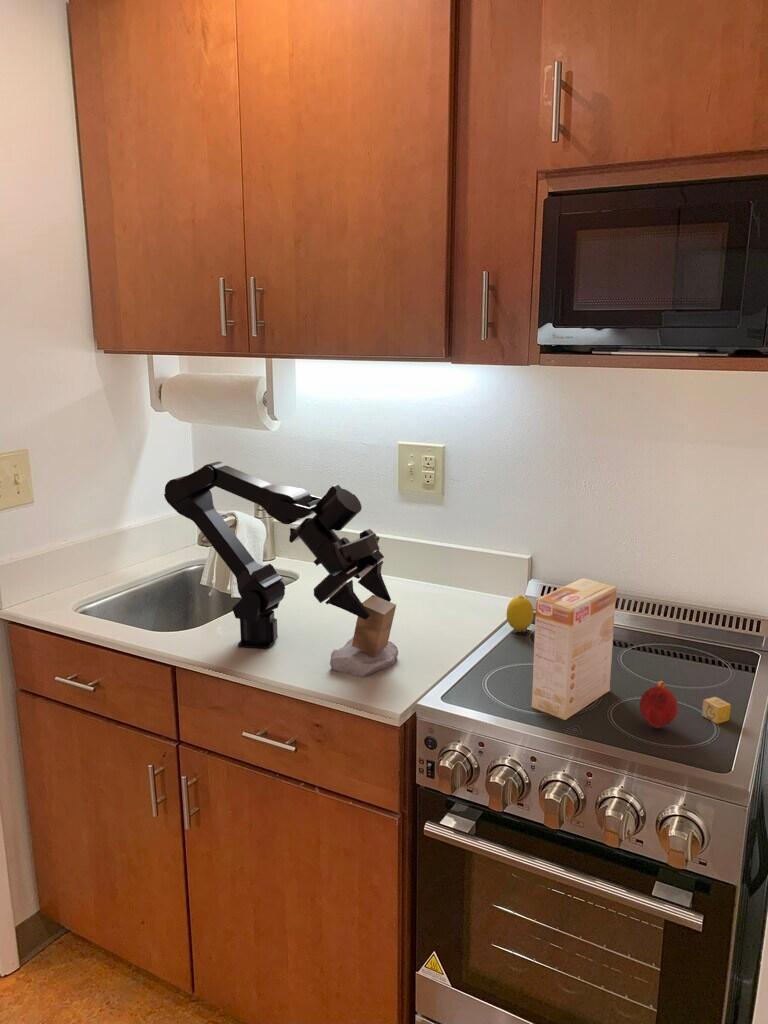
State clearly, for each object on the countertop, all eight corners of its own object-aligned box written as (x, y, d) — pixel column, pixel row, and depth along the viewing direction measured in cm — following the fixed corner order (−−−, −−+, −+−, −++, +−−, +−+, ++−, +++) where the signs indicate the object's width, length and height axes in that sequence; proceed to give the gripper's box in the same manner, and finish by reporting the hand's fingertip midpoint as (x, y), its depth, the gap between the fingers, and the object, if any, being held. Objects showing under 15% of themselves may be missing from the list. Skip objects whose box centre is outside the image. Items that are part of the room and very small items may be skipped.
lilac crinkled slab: (401, 666, 158) (358, 646, 162) (405, 645, 156) (361, 626, 160) (370, 693, 148) (324, 671, 152) (374, 670, 146) (328, 649, 150)
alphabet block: (714, 712, 136) (716, 695, 135) (729, 720, 133) (731, 703, 132) (701, 716, 134) (702, 699, 134) (716, 724, 132) (718, 707, 131)
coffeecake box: (575, 678, 148) (582, 576, 143) (611, 691, 143) (619, 586, 138) (529, 707, 137) (534, 598, 133) (565, 721, 133) (572, 608, 128)
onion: (675, 740, 127) (679, 692, 125) (636, 733, 129) (640, 686, 127) (676, 722, 132) (680, 677, 130) (639, 716, 134) (643, 671, 132)
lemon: (518, 639, 166) (520, 602, 164) (500, 630, 170) (501, 594, 168) (538, 633, 169) (540, 596, 167) (520, 624, 173) (521, 589, 171)
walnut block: (351, 645, 152) (360, 604, 148) (364, 635, 156) (373, 594, 153) (374, 656, 150) (384, 614, 146) (387, 645, 154) (396, 604, 151)
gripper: (327, 531, 140) (385, 601, 139) (374, 508, 157) (426, 570, 155) (289, 568, 146) (345, 636, 144) (339, 542, 162) (389, 603, 160)
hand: (378, 609), depth 150 cm, fingers open, 9 cm apart
